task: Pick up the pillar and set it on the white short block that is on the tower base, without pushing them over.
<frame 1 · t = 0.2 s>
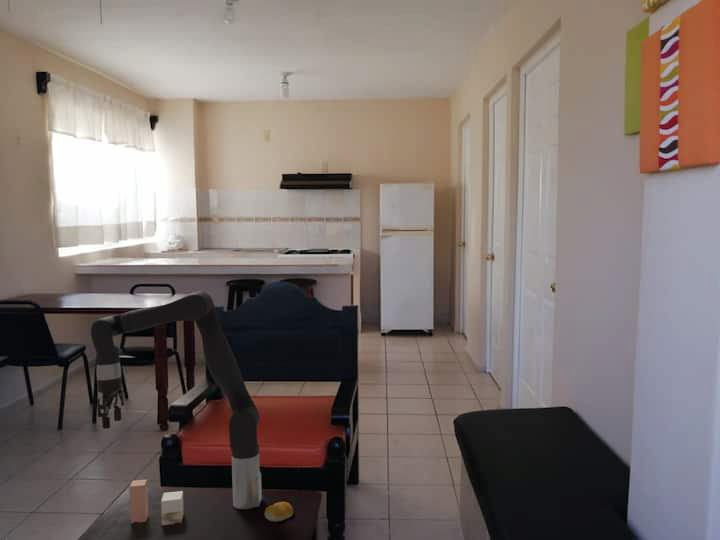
hand: (112, 424, 190), 29 cm above the table, tool pointing down, fingers open, 8 cm apart
pillar: (139, 519, 183), on the table
tower base: (173, 520, 182), on the table, touching white short block
white short block: (172, 508, 182), point 4 cm above the table, touching tower base
bread roll: (278, 516, 184), on the table
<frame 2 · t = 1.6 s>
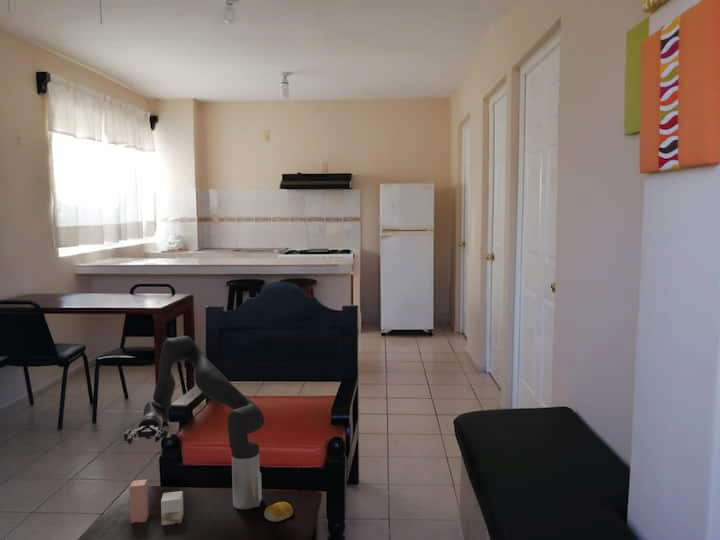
hand: (143, 440, 192), 22 cm above the table, tool horizontal, fingers open, 8 cm apart
nothing on the table moved.
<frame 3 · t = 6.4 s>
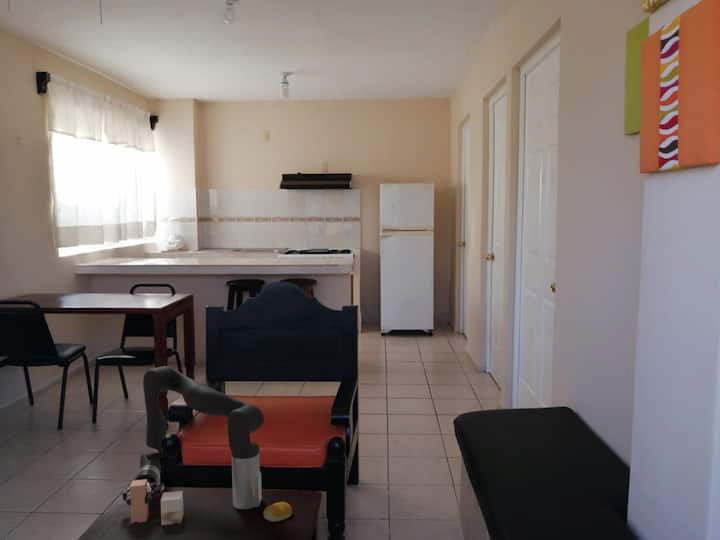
hand: (137, 501, 180), 7 cm above the table, tool horizontal, fingers closed on pillar, 4 cm apart
pillar: (140, 519, 183), on the table, touching gripper
tower base: (172, 519, 182), on the table
white short block: (172, 507, 182), point 4 cm above the table
everything else where it was.
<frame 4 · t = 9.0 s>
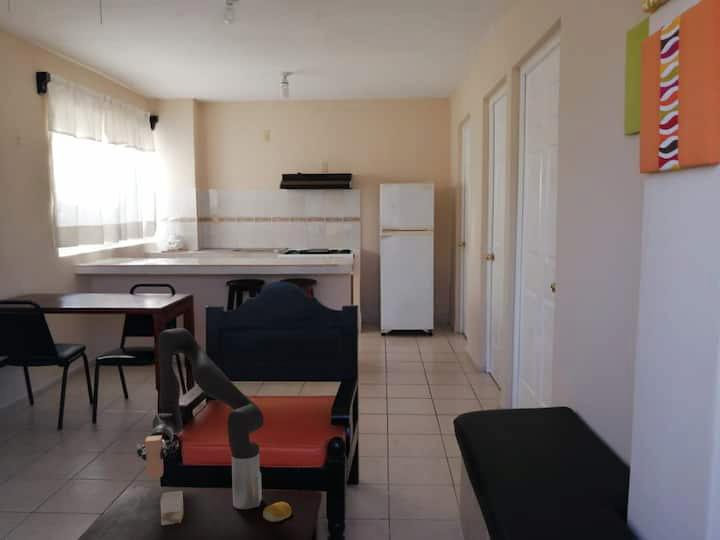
hand: (153, 456, 178), 22 cm above the table, tool horizontal, fingers closed on pillar, 4 cm apart
pillar: (155, 474, 181), point 15 cm above the table, touching gripper
tower base: (172, 520, 182), on the table, touching white short block
white short block: (172, 507, 182), point 4 cm above the table, touching tower base
everything else where it was.
when the fingers open (16 cm above the table, at t = 11.1 s): pillar drops 1 cm, resting on white short block.
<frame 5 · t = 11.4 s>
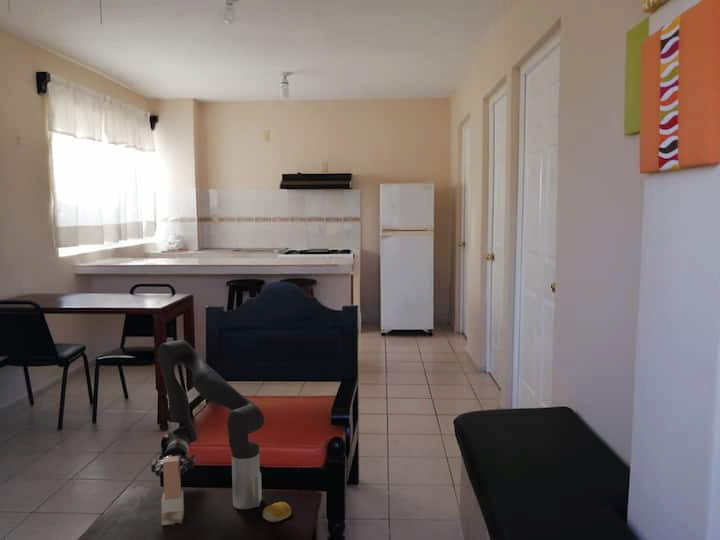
hand: (170, 472, 179), 17 cm above the table, tool horizontal, fingers open, 6 cm apart
pillar: (172, 495, 182), point 8 cm above the table, touching white short block
white short block: (172, 507, 182), point 4 cm above the table, touching pillar, tower base
everything else where it was.
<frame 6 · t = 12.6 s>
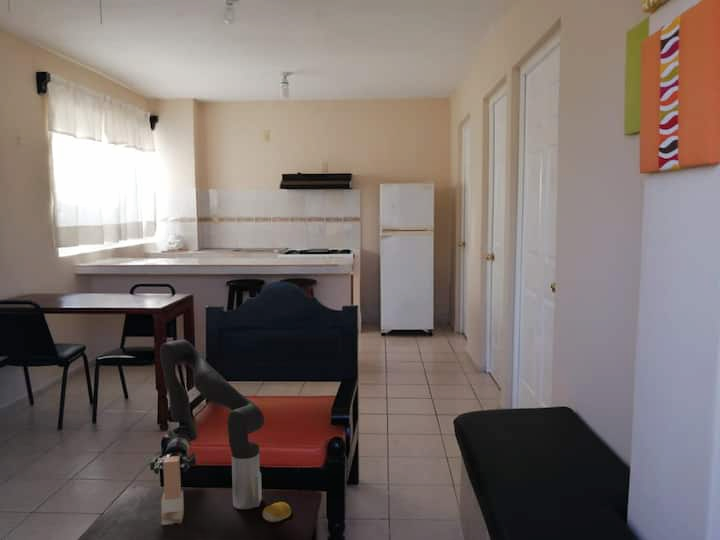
hand: (171, 470, 181), 16 cm above the table, tool horizontal, fingers open, 8 cm apart
nothing on the table moved.
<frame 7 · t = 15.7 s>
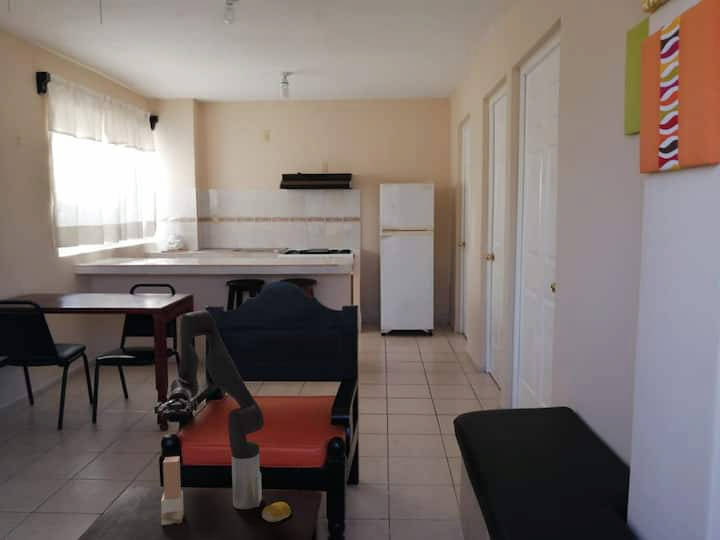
hand: (173, 412, 191), 32 cm above the table, tool horizontal, fingers open, 8 cm apart
nothing on the table moved.
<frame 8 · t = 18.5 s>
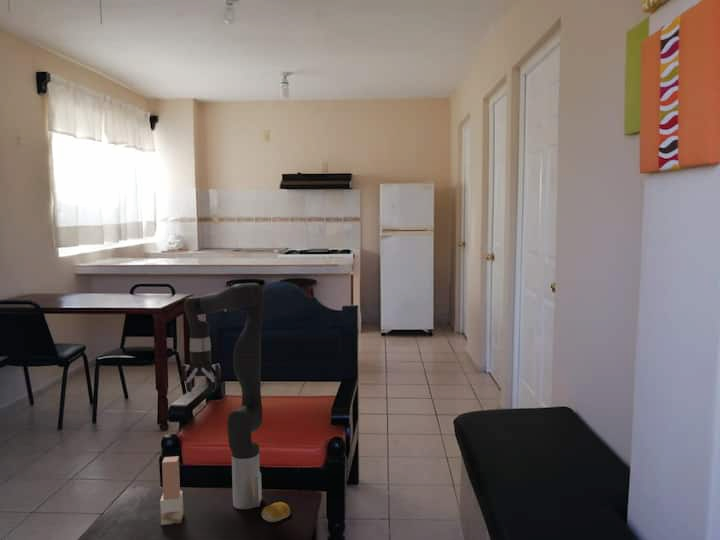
hand: (201, 391, 212), 33 cm above the table, tool pointing down, fingers open, 8 cm apart
nothing on the table moved.
at the end: pillar 0.3 cm off-centre on the tower base, point 8.0 cm above the tower base's base; pillar tilted 0°; white short block 0.1 cm off-centre on the tower base, point 4.0 cm above the tower base's base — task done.
